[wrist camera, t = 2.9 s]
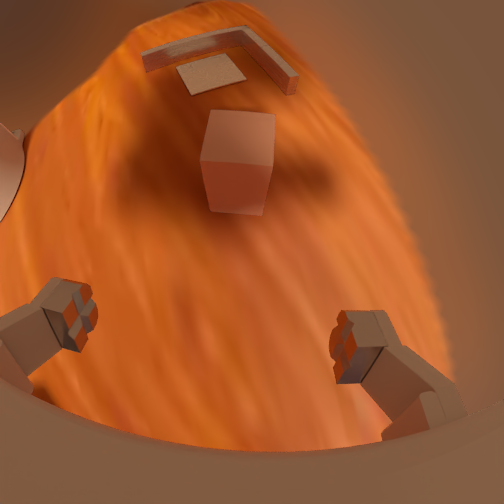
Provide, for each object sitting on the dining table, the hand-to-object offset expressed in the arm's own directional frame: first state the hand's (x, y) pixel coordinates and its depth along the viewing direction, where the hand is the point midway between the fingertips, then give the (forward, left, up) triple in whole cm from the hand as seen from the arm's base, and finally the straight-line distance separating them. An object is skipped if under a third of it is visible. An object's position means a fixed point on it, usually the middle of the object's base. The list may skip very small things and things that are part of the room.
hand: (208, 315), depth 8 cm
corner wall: (-10, +27, -13) cm, 32 cm away
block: (-2, +11, -14) cm, 18 cm away
